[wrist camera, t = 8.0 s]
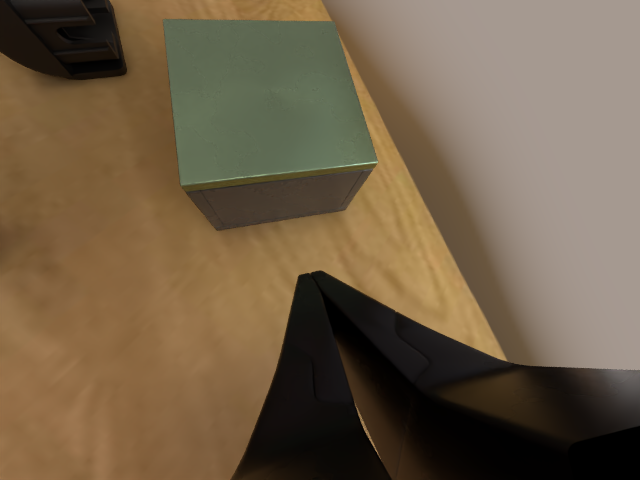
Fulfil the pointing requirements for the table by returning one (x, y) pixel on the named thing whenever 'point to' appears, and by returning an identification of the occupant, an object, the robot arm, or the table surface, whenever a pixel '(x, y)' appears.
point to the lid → (262, 102)
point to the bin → (278, 199)
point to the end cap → (62, 37)
